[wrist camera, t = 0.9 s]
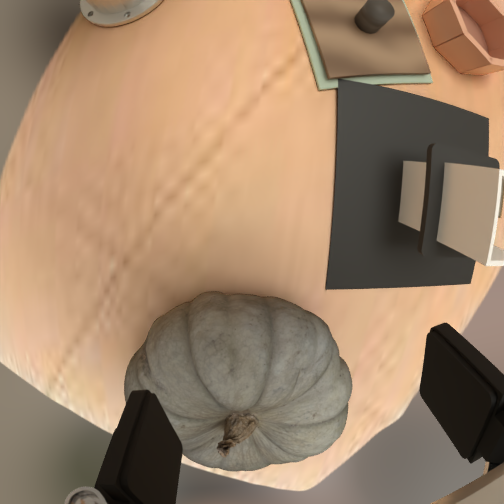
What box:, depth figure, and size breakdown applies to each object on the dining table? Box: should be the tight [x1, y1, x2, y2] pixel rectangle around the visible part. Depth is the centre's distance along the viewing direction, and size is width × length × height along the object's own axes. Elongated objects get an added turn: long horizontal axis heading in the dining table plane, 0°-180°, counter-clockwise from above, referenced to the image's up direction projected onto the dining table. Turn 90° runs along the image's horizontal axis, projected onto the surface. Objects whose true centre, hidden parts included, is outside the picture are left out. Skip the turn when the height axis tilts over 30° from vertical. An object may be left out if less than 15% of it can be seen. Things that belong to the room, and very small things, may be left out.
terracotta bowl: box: [422, 0, 504, 75], centre depth 25 cm, size 13×13×7 cm
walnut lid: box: [300, 0, 431, 80], centre depth 25 cm, size 14×14×5 cm
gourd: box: [124, 292, 352, 471], centre depth 32 cm, size 25×25×17 cm
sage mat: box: [290, 0, 433, 91], centre depth 28 cm, size 16×16×1 cm
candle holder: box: [326, 79, 504, 290], centre depth 26 cm, size 25×24×16 cm
